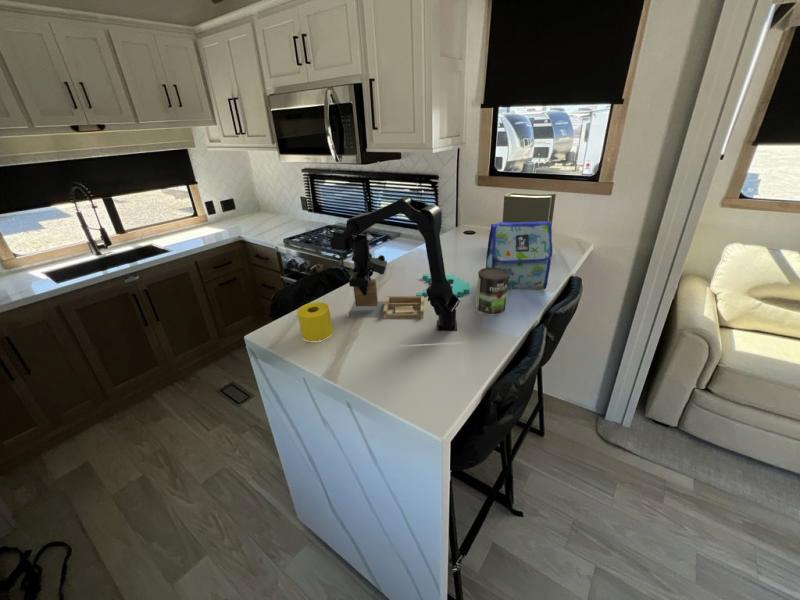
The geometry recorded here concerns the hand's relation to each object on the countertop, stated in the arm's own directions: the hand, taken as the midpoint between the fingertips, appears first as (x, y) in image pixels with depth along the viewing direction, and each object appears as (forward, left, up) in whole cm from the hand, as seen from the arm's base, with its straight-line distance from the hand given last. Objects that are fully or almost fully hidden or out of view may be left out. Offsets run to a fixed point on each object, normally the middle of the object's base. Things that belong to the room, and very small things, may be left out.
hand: (365, 293), depth 127 cm
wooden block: (0, 0, -5) cm, 5 cm away
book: (+60, -69, -7) cm, 92 cm away
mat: (0, 0, -7) cm, 7 cm away
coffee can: (+1, -45, -7) cm, 45 cm away
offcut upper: (-2, -14, -6) cm, 15 cm away
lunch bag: (+20, -57, -7) cm, 61 cm away
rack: (+1, -14, -7) cm, 16 cm away
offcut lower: (-2, -14, -8) cm, 16 cm away
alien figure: (+18, -29, -8) cm, 35 cm away
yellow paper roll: (-16, +14, -7) cm, 22 cm away
